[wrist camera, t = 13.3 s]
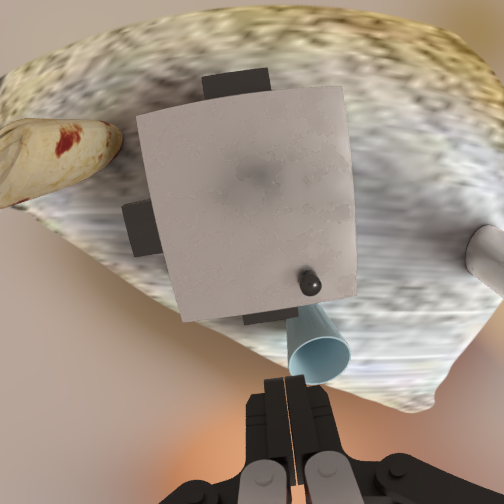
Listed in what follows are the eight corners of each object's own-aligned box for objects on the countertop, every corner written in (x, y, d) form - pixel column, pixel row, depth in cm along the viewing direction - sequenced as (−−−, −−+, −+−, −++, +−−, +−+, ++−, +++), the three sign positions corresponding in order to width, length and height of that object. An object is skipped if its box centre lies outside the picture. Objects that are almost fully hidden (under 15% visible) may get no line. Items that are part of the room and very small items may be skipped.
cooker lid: (338, 87, 24) (347, 83, 22) (353, 291, 31) (361, 302, 29) (109, 125, 25) (99, 124, 22) (157, 320, 32) (152, 332, 29)
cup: (324, 338, 46) (342, 384, 36) (275, 337, 45) (283, 385, 35) (334, 295, 43) (358, 336, 33) (282, 292, 43) (294, 336, 33)
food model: (87, 190, 36) (-13, 238, 18) (63, 151, 34) (-44, 173, 15) (143, 147, 35) (55, 160, 16) (117, 105, 33) (18, 87, 14)
